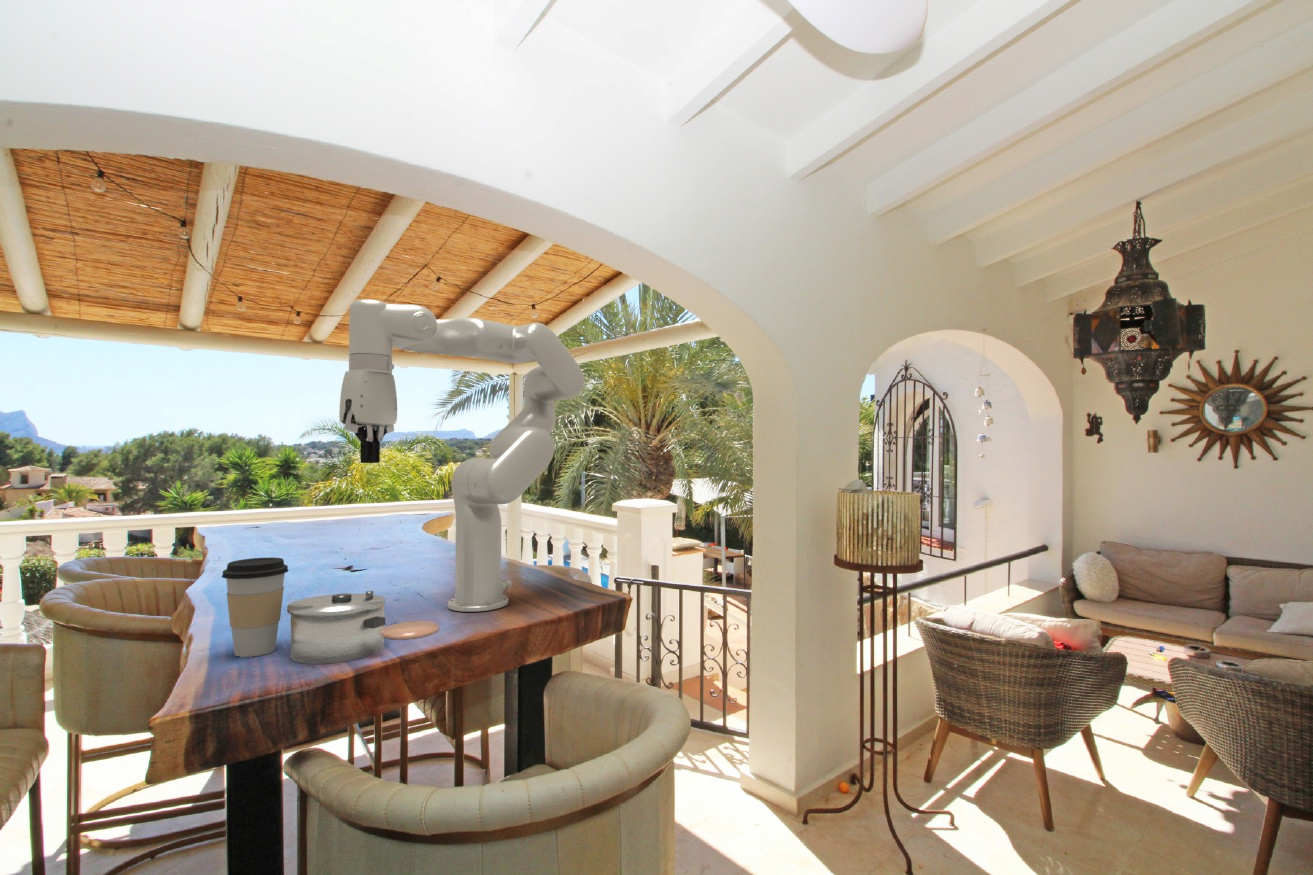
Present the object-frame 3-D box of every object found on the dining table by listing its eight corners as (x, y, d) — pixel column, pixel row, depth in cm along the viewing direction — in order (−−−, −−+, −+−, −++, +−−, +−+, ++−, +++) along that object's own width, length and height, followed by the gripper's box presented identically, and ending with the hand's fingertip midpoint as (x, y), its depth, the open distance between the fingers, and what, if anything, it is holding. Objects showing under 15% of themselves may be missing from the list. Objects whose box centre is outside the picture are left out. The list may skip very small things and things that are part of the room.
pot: (334, 633, 117) (335, 595, 117) (411, 644, 110) (411, 604, 110) (261, 655, 104) (262, 613, 104) (343, 670, 97) (343, 625, 97)
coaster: (409, 621, 124) (409, 618, 124) (450, 627, 120) (450, 624, 120) (367, 635, 115) (367, 632, 115) (411, 641, 111) (411, 638, 111)
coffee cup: (275, 640, 112) (276, 554, 113) (297, 650, 106) (298, 560, 107) (212, 653, 105) (213, 562, 105) (232, 665, 99) (233, 568, 99)
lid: (341, 595, 116) (342, 584, 116) (403, 602, 110) (404, 590, 111) (265, 611, 103) (266, 598, 103) (332, 620, 97) (332, 607, 97)
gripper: (386, 371, 129) (385, 462, 129) (322, 362, 116) (321, 463, 115) (414, 369, 127) (414, 462, 126) (353, 360, 113) (352, 463, 112)
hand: (370, 462), depth 121 cm, fingers closed
